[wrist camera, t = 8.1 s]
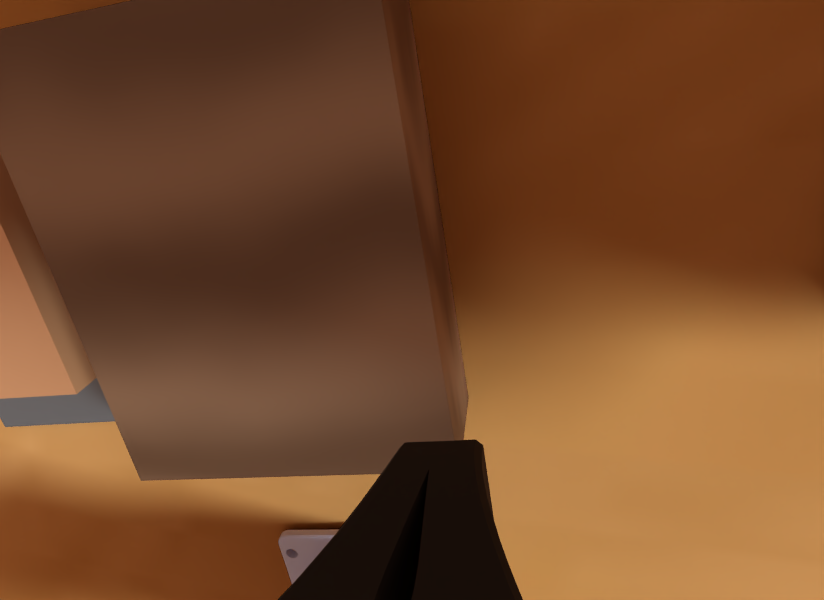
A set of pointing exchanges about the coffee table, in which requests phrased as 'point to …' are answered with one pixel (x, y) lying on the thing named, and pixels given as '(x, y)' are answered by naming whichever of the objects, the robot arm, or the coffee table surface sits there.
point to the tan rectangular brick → (33, 313)
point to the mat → (57, 408)
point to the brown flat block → (242, 228)
